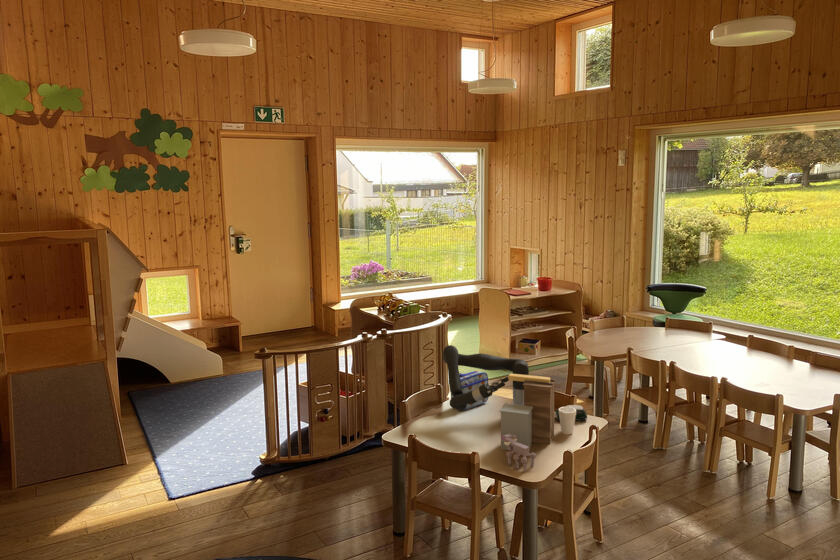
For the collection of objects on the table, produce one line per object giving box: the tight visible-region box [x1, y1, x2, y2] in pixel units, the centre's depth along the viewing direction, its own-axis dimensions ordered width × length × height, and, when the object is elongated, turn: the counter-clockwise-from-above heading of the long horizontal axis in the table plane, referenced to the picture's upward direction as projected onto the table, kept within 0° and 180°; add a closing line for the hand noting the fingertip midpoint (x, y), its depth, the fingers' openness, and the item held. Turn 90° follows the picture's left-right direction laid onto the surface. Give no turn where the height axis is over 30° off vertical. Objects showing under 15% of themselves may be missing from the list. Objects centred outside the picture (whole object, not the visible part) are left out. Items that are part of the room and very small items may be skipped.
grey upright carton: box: [499, 403, 533, 452], centre depth 339 cm, size 11×15×22 cm
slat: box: [507, 372, 551, 383], centre depth 347 cm, size 4×22×2 cm, turn 68°
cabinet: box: [523, 378, 556, 445], centre depth 348 cm, size 13×15×33 cm
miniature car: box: [554, 404, 588, 423], centre depth 375 cm, size 9×18×8 cm, turn 85°
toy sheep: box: [500, 434, 537, 473], centre depth 321 cm, size 20×11×14 cm, turn 41°
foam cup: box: [558, 406, 576, 435], centre depth 357 cm, size 10×9×13 cm
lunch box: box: [450, 370, 490, 412], centre depth 398 cm, size 28×10×22 cm, turn 130°
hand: (506, 381), depth 352 cm, fingers open, 8 cm apart
